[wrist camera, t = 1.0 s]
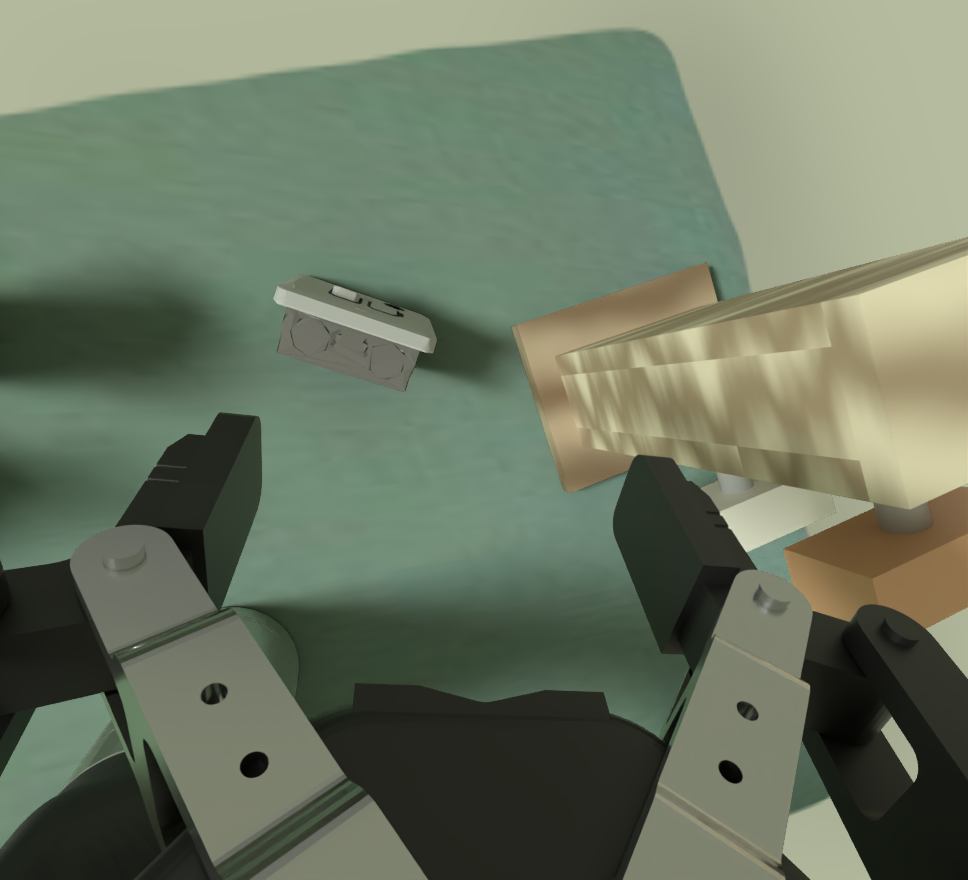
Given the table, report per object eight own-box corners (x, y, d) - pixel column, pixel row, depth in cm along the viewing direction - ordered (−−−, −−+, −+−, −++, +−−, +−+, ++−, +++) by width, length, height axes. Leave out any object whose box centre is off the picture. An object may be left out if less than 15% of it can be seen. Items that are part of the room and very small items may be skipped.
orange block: (755, 447, 28) (841, 458, 23) (908, 385, 30) (1018, 383, 25) (798, 606, 29) (889, 646, 25) (944, 537, 31) (1055, 562, 26)
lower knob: (634, 433, 40) (675, 438, 35) (750, 389, 42) (804, 388, 37) (668, 547, 41) (712, 567, 36) (779, 499, 43) (836, 512, 38)
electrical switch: (429, 318, 44) (447, 312, 35) (408, 386, 44) (420, 398, 35) (299, 273, 42) (282, 254, 33) (278, 346, 42) (256, 347, 33)
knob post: (511, 327, 45) (778, 214, 18) (695, 266, 48) (1170, 88, 21) (563, 490, 47) (880, 619, 19) (738, 421, 50) (1228, 448, 22)
